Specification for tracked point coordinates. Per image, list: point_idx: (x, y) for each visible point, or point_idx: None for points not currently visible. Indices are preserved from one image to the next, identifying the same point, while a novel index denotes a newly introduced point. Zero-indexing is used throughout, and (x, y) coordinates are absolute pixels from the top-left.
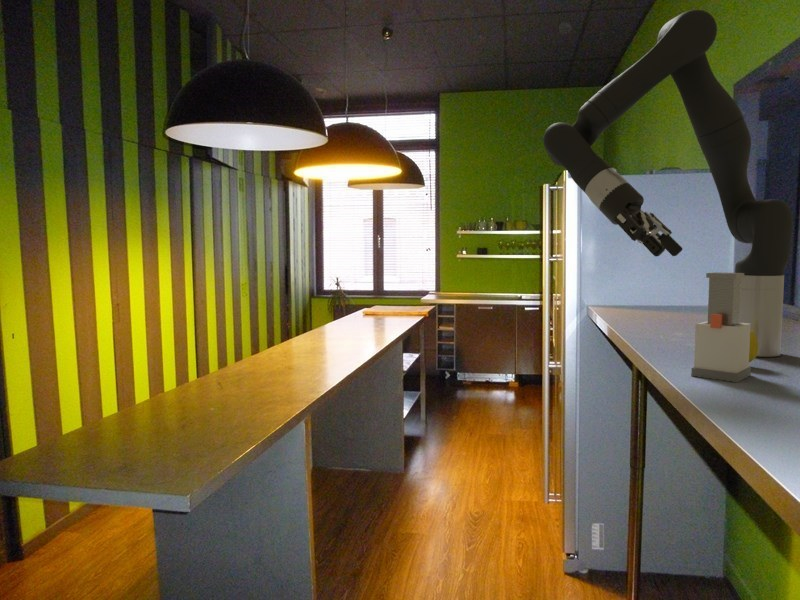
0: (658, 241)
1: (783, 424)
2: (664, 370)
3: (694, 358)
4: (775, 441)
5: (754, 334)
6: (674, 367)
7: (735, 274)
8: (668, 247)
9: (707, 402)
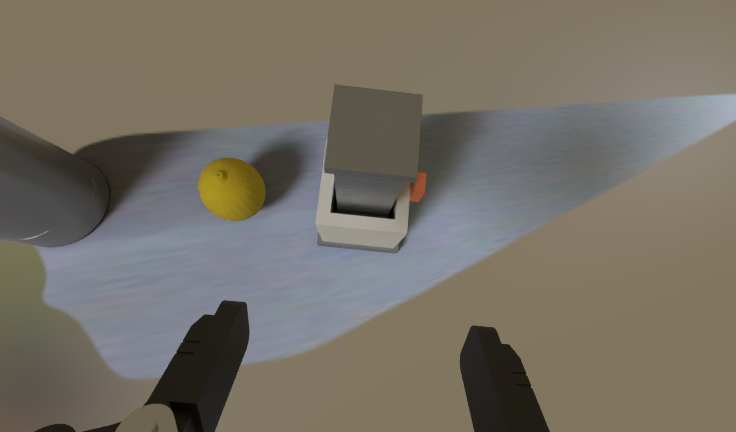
0: (492, 371)
1: (601, 111)
2: (371, 307)
3: (395, 245)
4: (670, 111)
5: (228, 158)
6: (328, 300)
7: (421, 97)
8: (228, 381)
9: (561, 194)
